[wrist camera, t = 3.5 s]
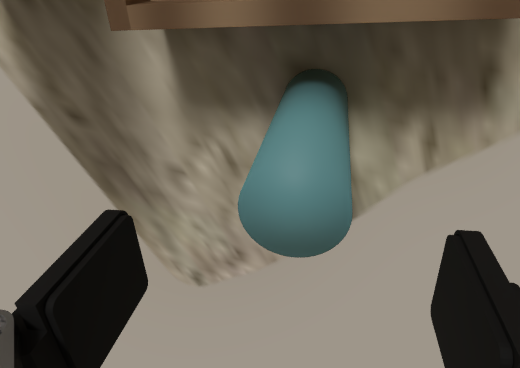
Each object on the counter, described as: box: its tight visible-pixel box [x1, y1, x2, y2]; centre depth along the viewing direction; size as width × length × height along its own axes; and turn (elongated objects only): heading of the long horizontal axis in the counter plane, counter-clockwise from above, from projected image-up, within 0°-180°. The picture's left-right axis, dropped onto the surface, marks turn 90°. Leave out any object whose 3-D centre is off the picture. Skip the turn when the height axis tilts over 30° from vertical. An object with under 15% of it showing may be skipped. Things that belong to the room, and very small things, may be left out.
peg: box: [238, 69, 352, 257], centre depth 18 cm, size 4×4×12 cm
